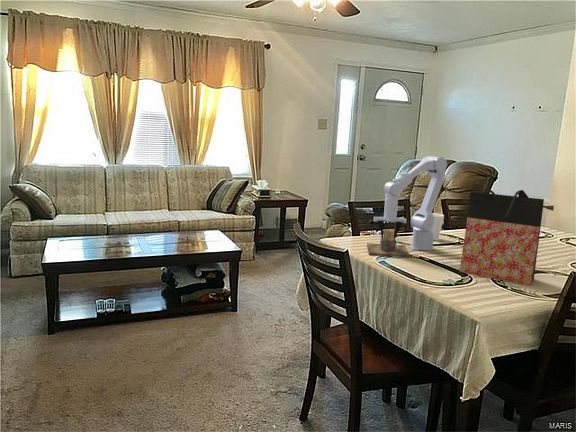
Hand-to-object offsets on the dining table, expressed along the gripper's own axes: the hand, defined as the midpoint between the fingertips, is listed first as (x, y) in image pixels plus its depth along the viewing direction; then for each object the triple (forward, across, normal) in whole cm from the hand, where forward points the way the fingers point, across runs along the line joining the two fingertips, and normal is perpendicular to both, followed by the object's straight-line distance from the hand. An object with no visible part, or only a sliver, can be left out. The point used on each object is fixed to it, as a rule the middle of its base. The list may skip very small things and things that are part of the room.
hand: (388, 237), depth 214 cm
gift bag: (+7, +41, -29) cm, 51 cm away
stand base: (+6, 0, 0) cm, 6 cm away
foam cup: (+7, +26, +31) cm, 41 cm away
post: (+5, 0, 0) cm, 5 cm away
